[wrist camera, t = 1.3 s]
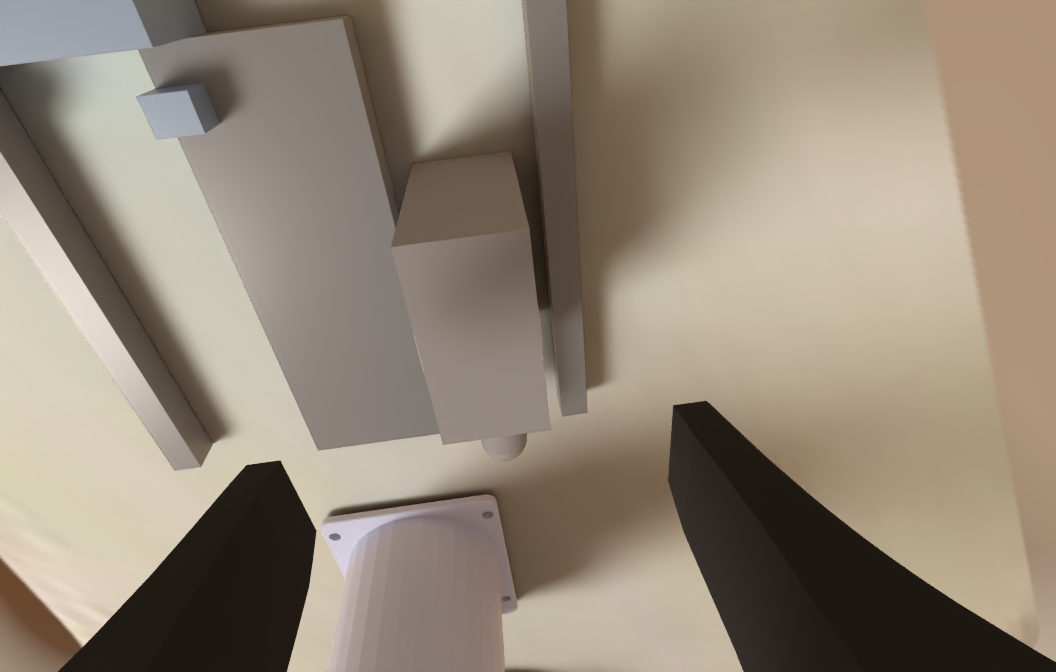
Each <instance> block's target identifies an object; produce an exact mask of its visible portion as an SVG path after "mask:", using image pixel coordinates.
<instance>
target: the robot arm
mask: <svg viewBox="0 0 1056 672" xmlns="http://www.w3.org/2000/svg"><path fill="white" fill-rule="evenodd" d="M668 482H669V485H670V488H671V492H672V495H673V498H674V502H675V505H676V509H677V512H678V515H679V518H680V521H681V524H682V528H683V531H684V533H685V536H686V538H687V541H688V543H689V545H690V548H691V550H692V552H693V555H694V557H695V559H696V562H697V564H698V566H699V569H700V571H701V573H702V575H703V578H704V580H705V582H706V585H707V587H708V589H709V591H710V594H711V596H712V598H713V601H714V603H715V605H716V607H717V610H718V612H719V614H720V617H721V619H722V621H723V623H724V626H725V628H726V630H727V633H728V635H729V637H730V640H731V642H732V644H733V646H734V649H735V651H736V653H737V656H738V659H739V661H740V664H741V666H742V669H743V671H744V672H1056V662H1054V661H1052V660H1051V659H1049V658H1047V657H1046V656H1044V655H1042V654H1041V653H1039V652H1037V651H1035V650H1034V649H1032V648H1030V647H1029V646H1027V645H1026V644H1024V643H1022V642H1021V641H1019V640H1017V639H1016V638H1014V637H1012V636H1011V635H1009V634H1008V633H1006V632H1004V631H1003V630H1001V629H999V628H998V627H996V626H994V625H993V624H991V623H989V622H988V621H986V620H985V619H983V618H981V617H980V616H978V615H976V614H975V613H973V612H971V611H970V610H968V609H967V608H965V607H963V606H962V605H960V604H958V603H957V602H955V601H954V600H952V599H951V598H949V597H948V596H946V595H945V594H943V593H942V592H940V591H939V590H937V589H936V588H934V587H933V586H931V585H929V584H928V583H926V582H925V581H923V580H922V579H921V578H919V577H918V576H916V575H915V574H913V573H912V572H911V571H909V570H908V569H906V568H905V567H903V566H902V565H901V564H899V563H898V562H896V561H895V560H893V559H892V558H891V557H889V556H888V555H886V554H885V553H884V552H882V551H881V550H880V549H878V548H877V547H875V546H874V545H873V544H871V543H870V542H869V541H867V540H866V539H865V538H863V537H862V536H861V535H860V534H858V533H857V532H856V531H854V530H853V529H852V528H850V527H849V526H848V525H847V524H845V523H844V522H843V521H842V520H840V519H839V518H838V517H837V516H835V515H834V514H833V513H831V512H830V511H829V510H828V509H826V508H825V507H824V506H823V505H822V504H820V503H819V502H818V501H817V500H816V499H814V498H813V497H812V496H811V495H809V494H808V493H807V492H806V491H805V490H804V489H802V488H801V487H800V486H799V485H798V484H797V483H796V482H794V481H793V480H792V479H791V478H790V477H789V476H787V475H786V474H785V473H784V472H783V471H782V470H781V469H779V468H778V467H777V466H776V465H775V464H774V463H773V462H771V461H770V460H769V459H768V458H767V457H766V456H765V455H764V454H763V453H762V452H760V451H759V450H758V449H757V448H756V447H755V446H754V445H753V444H752V443H751V442H750V441H749V440H748V439H746V438H745V437H744V436H743V435H742V434H741V433H740V432H739V431H738V430H737V429H736V428H735V427H734V426H733V425H732V424H731V423H730V422H729V421H727V420H726V419H725V418H724V417H723V416H722V415H721V414H720V413H719V412H718V411H717V410H716V409H715V408H714V407H713V406H712V405H711V404H709V403H708V402H707V401H702V402H695V403H687V404H680V405H673V417H672V432H671V447H670V462H669V476H668ZM486 511H489V512H486ZM321 532H322V534H323V536H324V538H325V540H326V542H327V544H328V546H329V548H330V550H331V552H332V554H333V556H334V558H335V560H336V562H337V564H338V566H339V568H340V570H341V572H342V574H343V576H344V578H345V581H344V586H343V591H342V596H341V601H340V606H339V612H338V617H337V622H336V627H335V632H334V637H333V642H332V648H331V653H330V658H329V663H328V668H327V672H505V661H504V644H503V626H502V614H509V613H513V612H515V611H516V610H517V599H516V594H515V589H514V584H513V579H512V574H511V569H510V564H509V559H508V554H507V549H506V544H505V539H504V534H503V529H502V524H501V520H500V515H499V510H498V505H497V500H496V498H495V497H493V496H492V495H478V496H471V497H464V498H457V499H450V500H443V501H436V502H429V503H422V504H415V505H408V506H401V507H394V508H387V509H380V510H373V511H366V512H359V513H352V514H345V515H338V516H331V517H327V518H325V519H324V520H323V521H322V524H321ZM315 538H316V529H315V527H314V525H313V523H312V521H311V519H310V517H309V516H308V514H307V512H306V510H305V508H304V506H303V504H302V502H301V500H300V498H299V496H298V494H297V492H296V490H295V488H294V486H293V484H292V482H291V480H290V479H289V477H288V475H287V473H286V471H285V469H284V467H283V465H282V463H281V461H273V462H266V463H259V464H252V465H246V466H245V468H244V469H243V470H242V471H241V472H240V473H239V474H238V475H237V476H236V478H235V479H234V480H233V481H232V482H231V483H230V484H229V486H228V487H227V488H226V489H225V490H224V491H223V492H222V494H221V495H220V496H219V497H218V498H217V500H216V501H215V502H214V503H213V504H212V505H211V507H210V508H209V509H208V510H207V511H206V512H205V514H204V515H203V516H202V517H201V518H200V519H199V521H198V522H197V523H196V524H195V525H194V526H193V528H192V529H191V530H190V531H189V532H188V533H187V534H186V536H185V537H184V538H183V539H182V540H181V541H180V542H179V544H178V545H177V546H176V547H175V548H174V549H173V550H172V552H171V553H170V554H169V555H168V556H167V557H166V558H165V560H164V561H163V562H162V563H161V564H160V565H159V566H158V568H157V569H156V570H155V571H154V572H153V573H152V574H151V575H150V577H149V578H148V579H147V580H146V581H145V582H144V583H143V584H142V585H141V586H140V587H139V588H138V589H137V590H136V592H135V593H134V594H133V595H132V596H131V597H130V598H129V599H128V600H127V601H126V602H125V603H124V604H123V605H122V606H121V607H120V609H119V610H118V611H117V612H116V613H115V614H114V615H113V616H112V617H111V618H110V619H109V620H108V621H107V622H106V623H105V625H104V626H103V627H102V628H101V629H100V630H99V631H98V632H97V633H96V634H95V635H94V636H93V637H92V638H91V639H90V640H89V641H88V642H87V643H86V644H85V645H84V646H83V647H82V648H81V649H80V650H79V652H78V653H76V654H75V655H74V656H73V657H72V658H71V659H70V660H69V661H68V662H67V663H66V664H65V665H64V666H63V667H62V668H61V669H60V670H59V671H58V672H287V669H288V665H289V661H290V657H291V654H292V650H293V646H294V642H295V639H296V635H297V631H298V627H299V624H300V620H301V616H302V612H303V608H304V604H305V600H306V596H307V592H308V588H309V583H310V576H311V569H312V563H313V555H314V546H315Z"/></svg>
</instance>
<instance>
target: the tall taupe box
mask: <svg viewBox="0 0 1056 672" xmlns="http://www.w3.org/2000/svg"><path fill="white" fill-rule="evenodd" d="M391 250H392V253H393V257H394V261H395V265H396V269H397V272H398V276H399V280H400V284H401V288H402V291H403V295H404V299H405V303H406V306H407V310H408V314H409V318H410V322H411V325H412V329H413V333H414V338H415V342H416V345H417V349H418V353H419V357H420V360H421V364H422V368H423V372H424V375H425V378H426V382H427V386H428V390H429V394H430V397H431V401H432V405H433V409H434V412H435V416H436V420H437V424H438V428H439V431H440V435H441V439H442V443H443V445H446V444H453V443H460V442H467V441H474V440H481V441H482V445H483V448H484V450H485V451H486V452H487V454H488V455H490V456H491V457H492V458H494V459H496V460H501V461H508V460H511V459H514V458H515V457H517V456H518V455H520V453H521V452H522V451H523V449H524V448H525V445H526V441H527V434H526V433H532V432H539V431H546V430H551V428H550V419H549V409H548V400H547V390H546V381H545V371H544V362H543V356H544V347H543V337H542V327H541V318H540V313H539V308H538V303H537V295H536V286H535V276H534V267H533V257H532V248H531V238H530V229H529V225H528V220H527V216H526V212H525V208H524V204H523V200H522V195H521V191H520V187H519V183H518V179H517V175H516V170H515V166H514V162H513V158H512V154H511V151H504V152H496V153H488V154H480V155H473V156H465V157H457V158H449V159H442V160H434V161H426V162H418V163H413V164H412V168H411V172H410V176H409V180H408V183H407V187H406V191H405V195H404V199H403V203H402V206H401V210H400V214H399V218H398V222H397V226H396V229H395V233H394V237H393V241H392V245H391Z"/></svg>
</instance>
